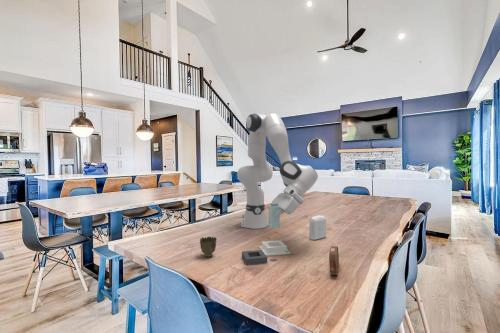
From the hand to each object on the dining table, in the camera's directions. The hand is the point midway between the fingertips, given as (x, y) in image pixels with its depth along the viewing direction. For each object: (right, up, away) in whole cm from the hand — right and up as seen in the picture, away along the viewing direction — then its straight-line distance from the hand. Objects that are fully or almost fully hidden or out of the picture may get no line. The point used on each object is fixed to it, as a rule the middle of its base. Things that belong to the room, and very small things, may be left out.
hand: (272, 215), depth 122 cm
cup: (-30, -17, -6) cm, 35 cm away
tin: (+22, -18, -21) cm, 35 cm away
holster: (-9, -17, -11) cm, 22 cm away
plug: (+1, -5, 0) cm, 5 cm away
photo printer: (+26, -16, +19) cm, 36 cm away
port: (+1, -17, +1) cm, 17 cm away
